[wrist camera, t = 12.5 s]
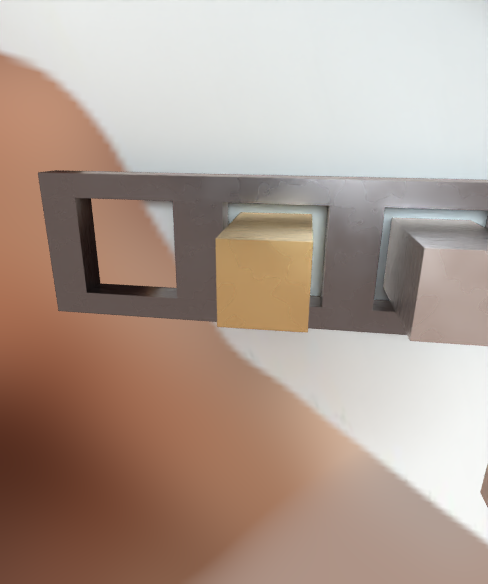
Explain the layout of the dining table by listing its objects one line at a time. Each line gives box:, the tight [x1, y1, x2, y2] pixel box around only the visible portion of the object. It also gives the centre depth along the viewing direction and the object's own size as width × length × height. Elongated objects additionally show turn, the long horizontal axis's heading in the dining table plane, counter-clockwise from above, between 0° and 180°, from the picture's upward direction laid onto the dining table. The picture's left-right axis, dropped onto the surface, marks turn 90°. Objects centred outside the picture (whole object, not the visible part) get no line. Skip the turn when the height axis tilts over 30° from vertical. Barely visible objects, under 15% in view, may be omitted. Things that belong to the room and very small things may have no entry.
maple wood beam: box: [215, 212, 313, 332], centre depth 24 cm, size 5×5×8 cm
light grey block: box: [383, 218, 488, 346], centre depth 23 cm, size 5×5×8 cm
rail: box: [38, 170, 488, 335], centre depth 27 cm, size 30×9×2 cm, turn 89°
